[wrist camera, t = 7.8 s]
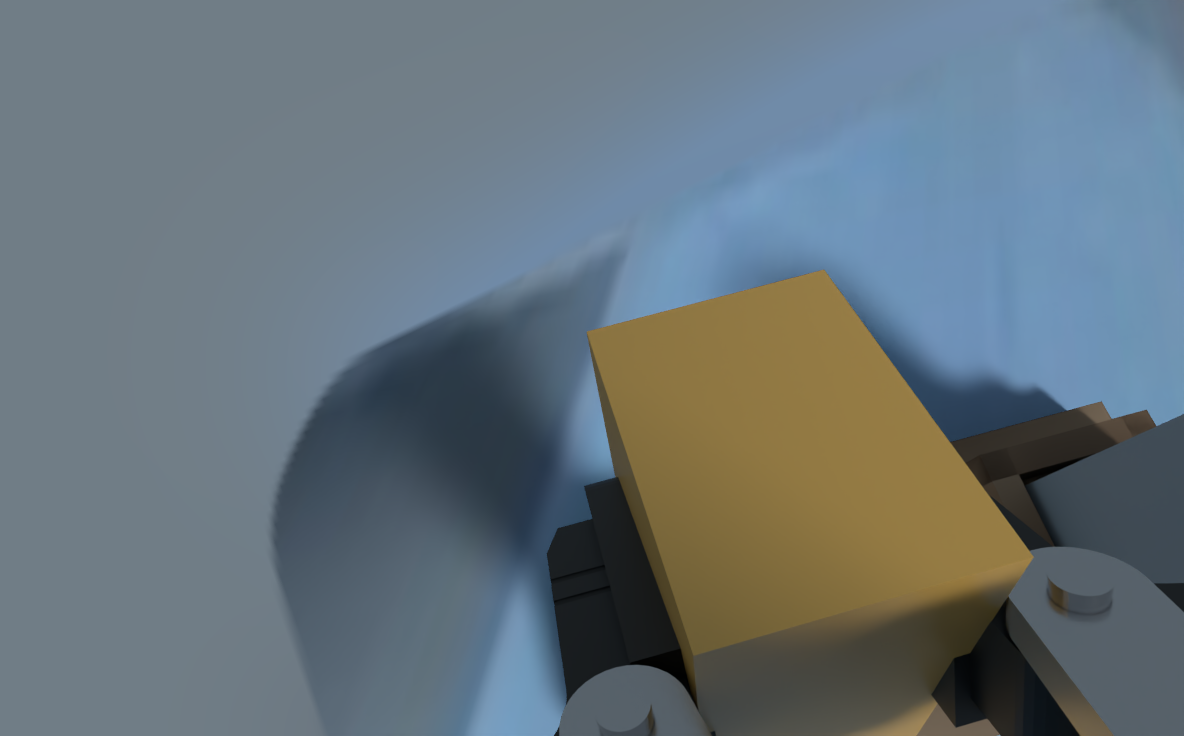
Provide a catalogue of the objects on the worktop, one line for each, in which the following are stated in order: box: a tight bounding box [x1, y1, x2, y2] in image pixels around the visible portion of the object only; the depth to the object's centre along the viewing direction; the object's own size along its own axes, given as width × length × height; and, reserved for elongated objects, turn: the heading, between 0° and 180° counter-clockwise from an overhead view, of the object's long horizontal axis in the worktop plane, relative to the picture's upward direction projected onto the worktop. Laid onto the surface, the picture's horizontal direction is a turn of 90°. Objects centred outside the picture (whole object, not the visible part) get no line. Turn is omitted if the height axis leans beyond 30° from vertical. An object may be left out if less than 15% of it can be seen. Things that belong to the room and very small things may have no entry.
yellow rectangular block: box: [587, 270, 1033, 736], centre depth 11 cm, size 4×3×10 cm
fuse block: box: [917, 401, 1156, 736], centre depth 21 cm, size 8×18×4 cm, turn 104°
